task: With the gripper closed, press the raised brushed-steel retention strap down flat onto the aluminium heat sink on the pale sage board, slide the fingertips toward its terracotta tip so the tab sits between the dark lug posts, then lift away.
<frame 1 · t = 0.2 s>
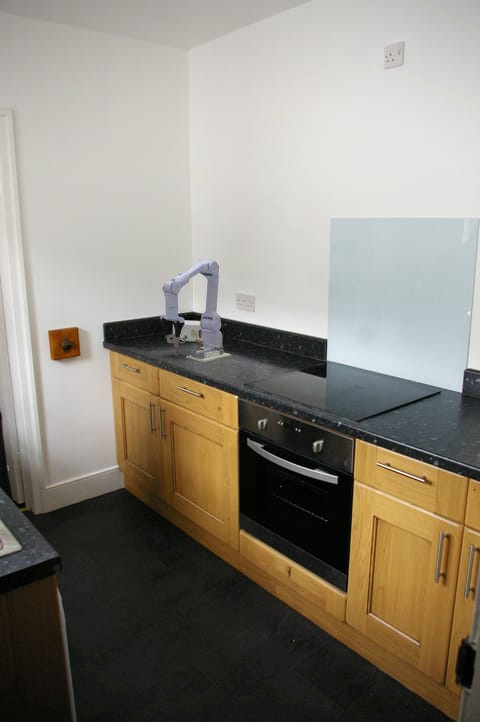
hand: (172, 336, 272), 10 cm above the countertop, fingers open, 7 cm apart
retention strap: (208, 344, 274), point 6 cm above the countertop, hinge at 20.0°
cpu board: (209, 357, 276), on the countertop
supplement box: (190, 339, 319), on the countertop
mechanical component: (176, 356, 278), on the countertop
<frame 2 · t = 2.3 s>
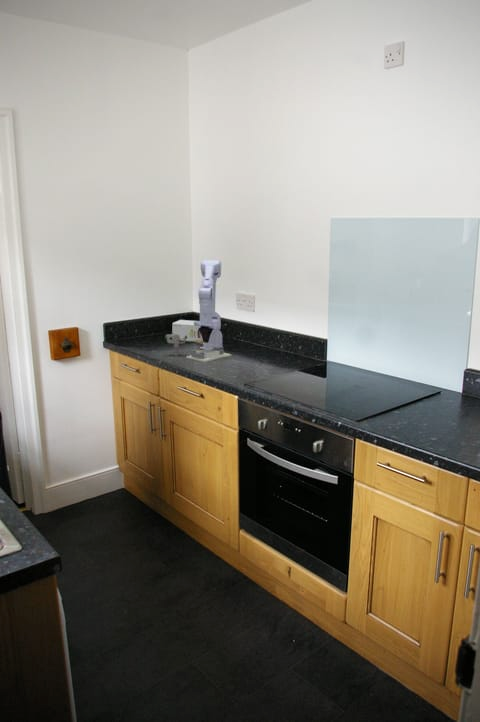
hand: (205, 342, 272), 7 cm above the countertop, fingers closed, pressing on retention strap
retention strap: (208, 344, 274), point 6 cm above the countertop, hinge at 19.2°, touching gripper
everything else where it was.
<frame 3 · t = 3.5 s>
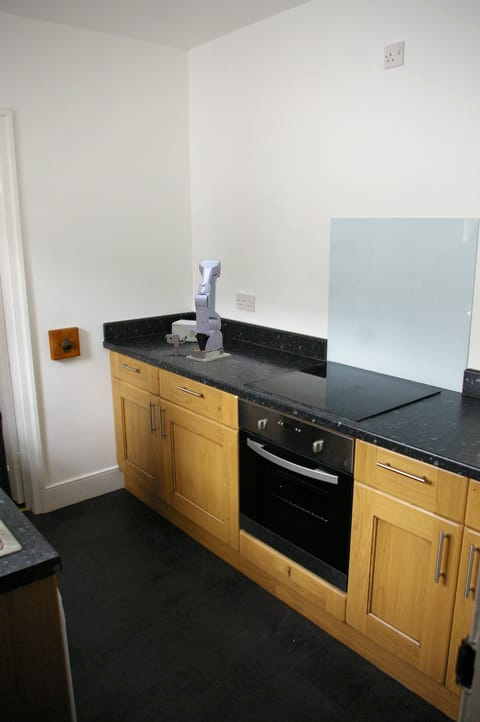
hand: (202, 349, 271), 4 cm above the countertop, fingers closed
retention strap: (208, 349, 274), point 4 cm above the countertop, hinge at -0.6°
everything else where it was.
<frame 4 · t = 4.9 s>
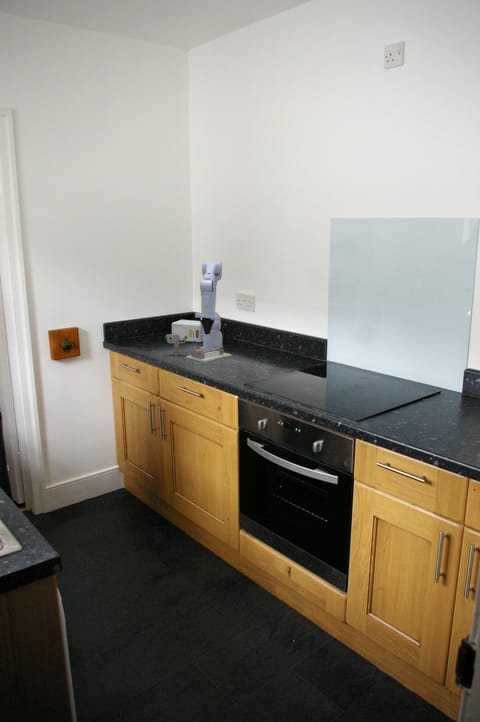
hand: (207, 334, 277), 10 cm above the countertop, fingers closed
nothing on the countertop moved.
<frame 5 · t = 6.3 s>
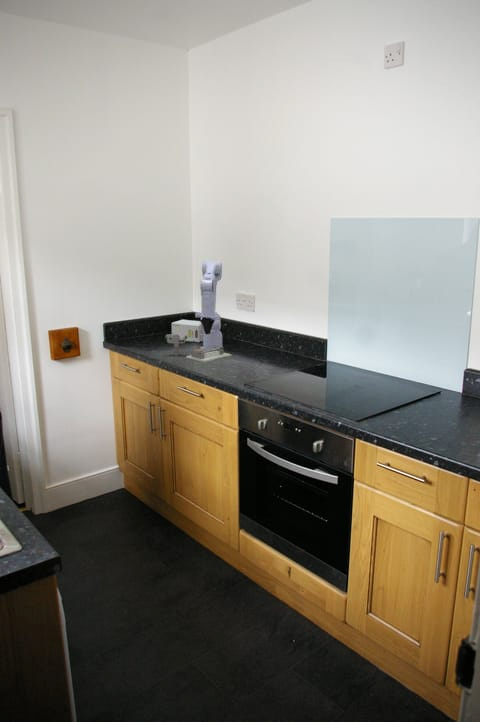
hand: (207, 333, 277), 10 cm above the countertop, fingers closed
at the end: retention strap at -1° (first picture: +20°) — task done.
